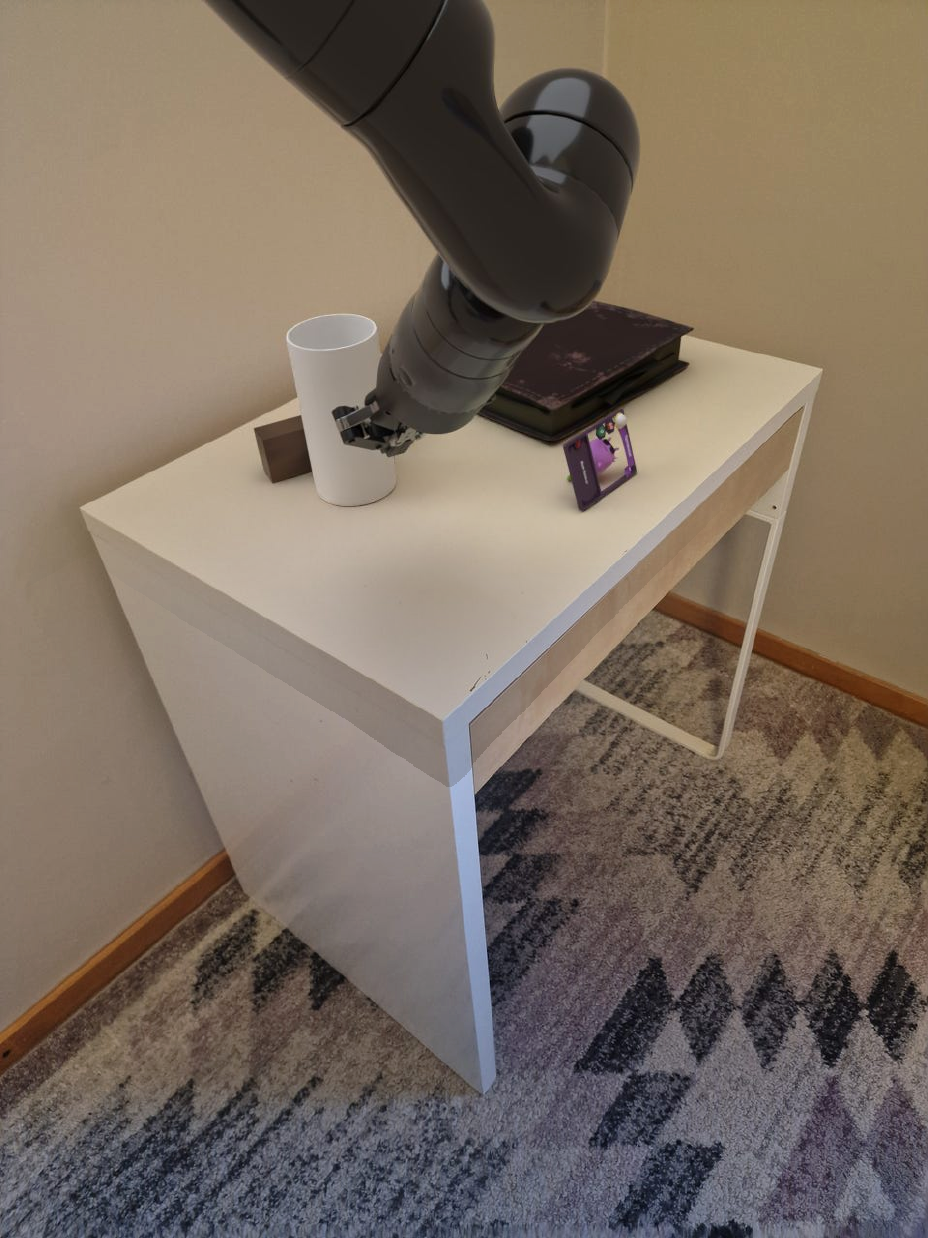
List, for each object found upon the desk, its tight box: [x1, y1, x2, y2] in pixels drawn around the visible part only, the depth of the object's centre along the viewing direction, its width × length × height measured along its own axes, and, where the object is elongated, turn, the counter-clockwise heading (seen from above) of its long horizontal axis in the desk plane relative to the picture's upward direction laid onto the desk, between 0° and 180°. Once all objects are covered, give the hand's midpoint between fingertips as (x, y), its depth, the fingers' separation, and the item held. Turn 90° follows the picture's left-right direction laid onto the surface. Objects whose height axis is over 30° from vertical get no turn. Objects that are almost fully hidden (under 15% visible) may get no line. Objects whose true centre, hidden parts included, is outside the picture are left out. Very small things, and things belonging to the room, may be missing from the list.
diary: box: [477, 300, 695, 442], centre depth 100 cm, size 19×25×5 cm
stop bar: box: [253, 414, 312, 484], centre depth 90 cm, size 14×3×5 cm, turn 118°
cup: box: [285, 313, 397, 507], centre depth 82 cm, size 8×8×16 cm
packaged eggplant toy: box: [562, 408, 638, 512], centre depth 83 cm, size 7×5×9 cm
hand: (390, 444), depth 71 cm, fingers closed
